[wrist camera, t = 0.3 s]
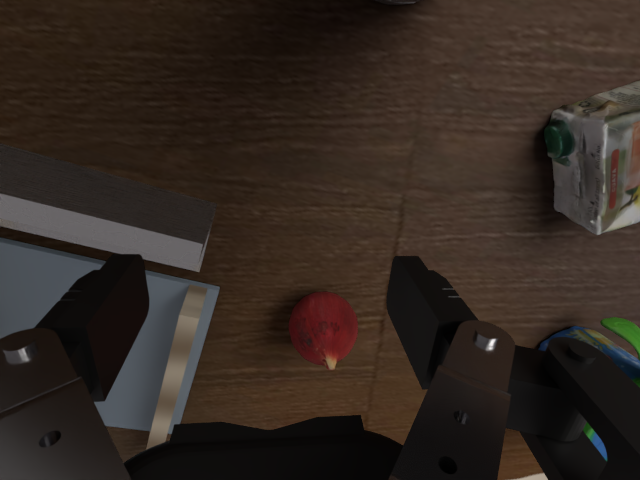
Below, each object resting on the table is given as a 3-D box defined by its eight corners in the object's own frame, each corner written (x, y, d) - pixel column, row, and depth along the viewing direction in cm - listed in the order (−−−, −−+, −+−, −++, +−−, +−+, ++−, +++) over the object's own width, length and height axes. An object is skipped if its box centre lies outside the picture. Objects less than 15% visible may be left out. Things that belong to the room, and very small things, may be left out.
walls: (-37, 234, 28) (-82, 262, 24) (207, 288, 32) (199, 318, 29) (-26, 409, 36) (-59, 449, 33) (167, 433, 41) (157, 470, 37)
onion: (275, 305, 35) (275, 372, 28) (315, 263, 33) (326, 323, 26) (322, 332, 37) (333, 402, 30) (361, 294, 35) (383, 358, 28)
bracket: (-14, 213, 28) (-92, 260, 22) (-17, 137, 26) (-105, 167, 20) (201, 264, 32) (185, 315, 26) (217, 202, 30) (202, 244, 24)
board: (-47, 226, 28) (-53, 230, 28) (219, 286, 33) (219, 290, 33) (-34, 402, 36) (-38, 408, 36) (177, 429, 41) (176, 434, 41)
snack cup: (544, 292, 38) (628, 372, 29) (638, 291, 39) (746, 367, 30) (499, 398, 45) (554, 488, 36) (578, 394, 46) (651, 480, 37)
